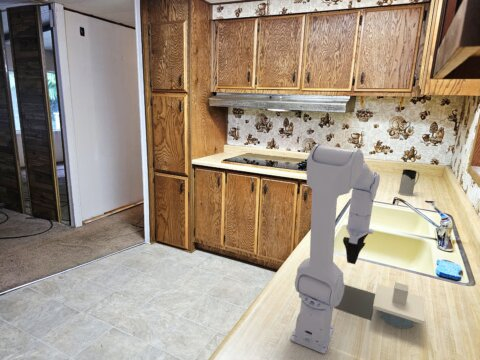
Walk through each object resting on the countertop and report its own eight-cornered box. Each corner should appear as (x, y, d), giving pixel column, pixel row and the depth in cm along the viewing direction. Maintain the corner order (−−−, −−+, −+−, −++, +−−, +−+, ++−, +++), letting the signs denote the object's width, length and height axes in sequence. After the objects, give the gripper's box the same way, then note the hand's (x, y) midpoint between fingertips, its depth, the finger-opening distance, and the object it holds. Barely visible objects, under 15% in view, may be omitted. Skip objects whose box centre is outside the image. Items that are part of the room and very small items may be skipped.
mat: (371, 321, 79) (371, 320, 79) (319, 304, 85) (319, 303, 85) (376, 295, 90) (376, 294, 90) (330, 281, 96) (330, 280, 96)
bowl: (412, 333, 76) (415, 317, 75) (379, 322, 79) (381, 306, 78) (412, 316, 82) (415, 300, 81) (381, 306, 85) (384, 291, 84)
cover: (424, 324, 72) (428, 306, 71) (372, 308, 77) (375, 291, 76) (422, 299, 82) (426, 282, 81) (376, 286, 87) (379, 270, 86)
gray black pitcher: (394, 192, 199) (398, 169, 196) (409, 190, 206) (413, 168, 202) (407, 196, 192) (411, 172, 188) (422, 194, 198) (426, 171, 194)
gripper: (372, 224, 79) (364, 272, 83) (378, 208, 92) (371, 251, 95) (343, 218, 83) (337, 265, 86) (353, 203, 95) (347, 245, 98)
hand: (353, 257), depth 91 cm, fingers open, 7 cm apart
